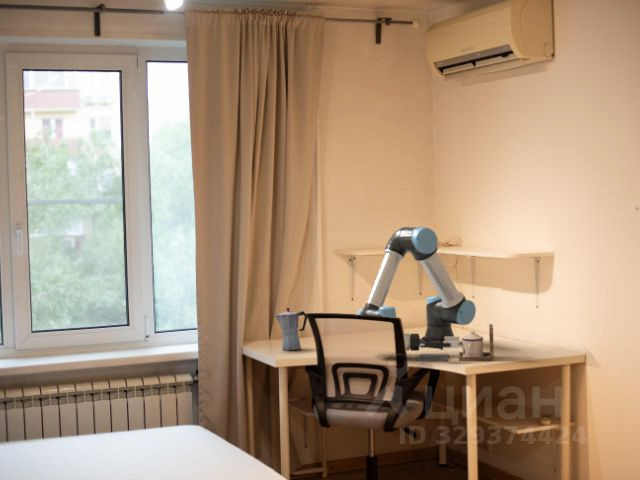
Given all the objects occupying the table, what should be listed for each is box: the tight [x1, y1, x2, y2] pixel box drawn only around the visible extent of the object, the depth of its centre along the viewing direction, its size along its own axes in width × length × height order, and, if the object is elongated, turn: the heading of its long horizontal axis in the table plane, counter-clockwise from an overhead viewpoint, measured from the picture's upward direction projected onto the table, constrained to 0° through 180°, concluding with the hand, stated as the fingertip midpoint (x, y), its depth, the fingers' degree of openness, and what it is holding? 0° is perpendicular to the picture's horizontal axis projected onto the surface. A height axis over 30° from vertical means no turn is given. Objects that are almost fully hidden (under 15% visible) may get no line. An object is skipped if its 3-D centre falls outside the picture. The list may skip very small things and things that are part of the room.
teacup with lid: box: [461, 330, 484, 357], centre depth 371 cm, size 12×9×12 cm
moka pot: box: [274, 307, 308, 352], centre depth 409 cm, size 10×15×20 cm, turn 95°
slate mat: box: [416, 353, 449, 362], centre depth 375 cm, size 14×13×1 cm
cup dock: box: [458, 323, 495, 362], centre depth 372 cm, size 13×15×14 cm
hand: (459, 342), depth 372 cm, fingers open, 13 cm apart
